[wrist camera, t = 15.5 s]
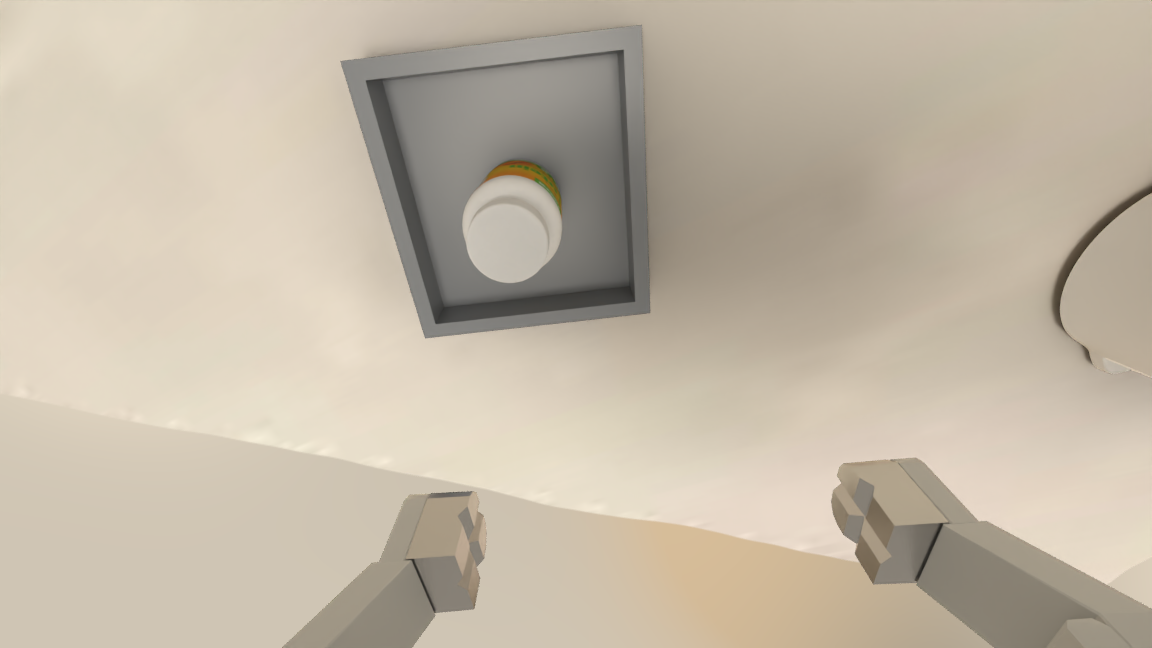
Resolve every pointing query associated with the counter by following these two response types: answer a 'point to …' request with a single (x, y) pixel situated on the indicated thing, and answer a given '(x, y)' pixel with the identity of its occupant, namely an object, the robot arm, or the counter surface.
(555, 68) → the parts tray
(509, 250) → the supplement bottle
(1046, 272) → the counter surface
